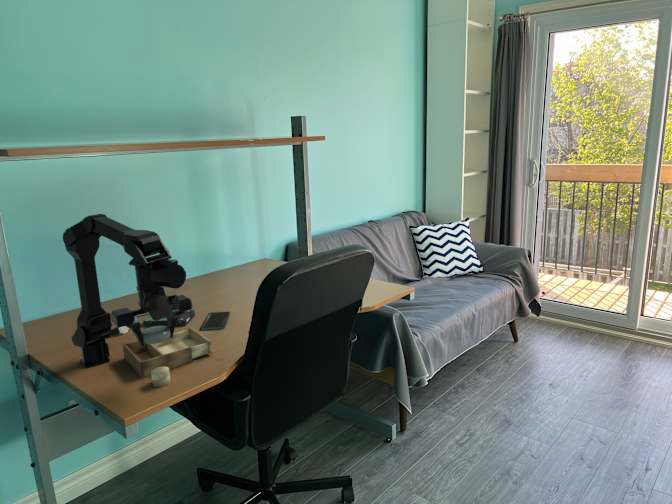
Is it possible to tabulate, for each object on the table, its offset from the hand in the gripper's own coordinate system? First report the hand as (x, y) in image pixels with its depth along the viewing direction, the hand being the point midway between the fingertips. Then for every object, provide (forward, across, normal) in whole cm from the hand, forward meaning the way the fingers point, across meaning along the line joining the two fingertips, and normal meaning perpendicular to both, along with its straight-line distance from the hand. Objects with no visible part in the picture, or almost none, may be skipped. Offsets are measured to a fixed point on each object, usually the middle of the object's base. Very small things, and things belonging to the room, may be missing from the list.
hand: (156, 341), depth 127 cm
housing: (+11, +4, +14) cm, 18 cm away
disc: (-1, 0, 0) cm, 1 cm away
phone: (+12, +30, +30) cm, 45 cm away
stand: (+11, 0, 0) cm, 11 cm away
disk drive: (+12, +18, +43) cm, 48 cm away
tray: (+11, +11, +14) cm, 21 cm away
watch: (+12, +2, +44) cm, 45 cm away
